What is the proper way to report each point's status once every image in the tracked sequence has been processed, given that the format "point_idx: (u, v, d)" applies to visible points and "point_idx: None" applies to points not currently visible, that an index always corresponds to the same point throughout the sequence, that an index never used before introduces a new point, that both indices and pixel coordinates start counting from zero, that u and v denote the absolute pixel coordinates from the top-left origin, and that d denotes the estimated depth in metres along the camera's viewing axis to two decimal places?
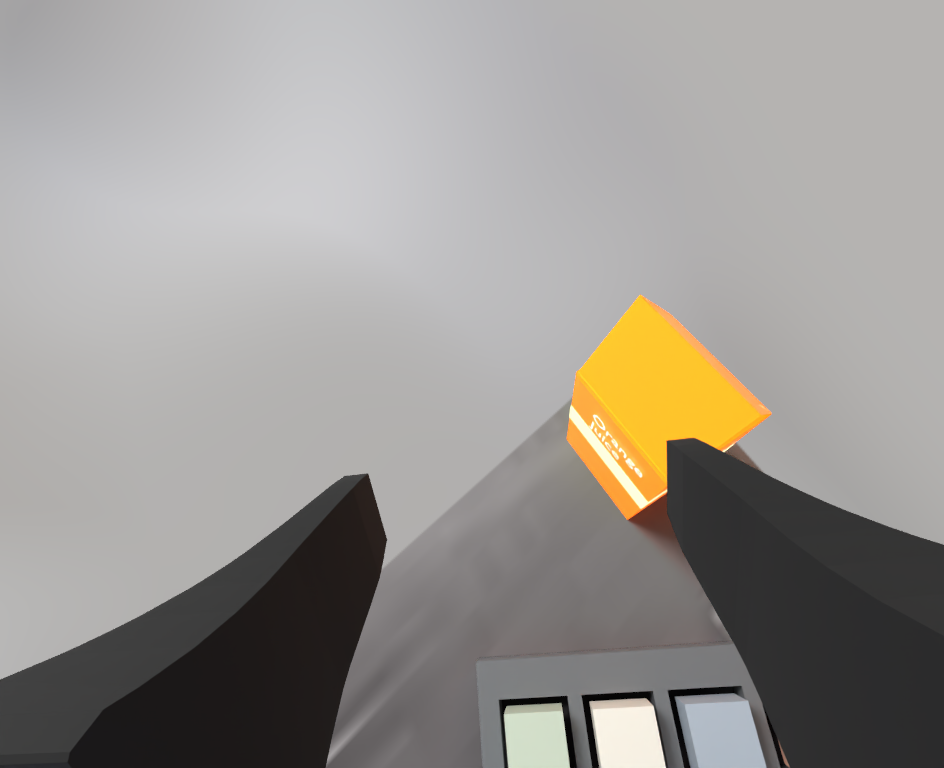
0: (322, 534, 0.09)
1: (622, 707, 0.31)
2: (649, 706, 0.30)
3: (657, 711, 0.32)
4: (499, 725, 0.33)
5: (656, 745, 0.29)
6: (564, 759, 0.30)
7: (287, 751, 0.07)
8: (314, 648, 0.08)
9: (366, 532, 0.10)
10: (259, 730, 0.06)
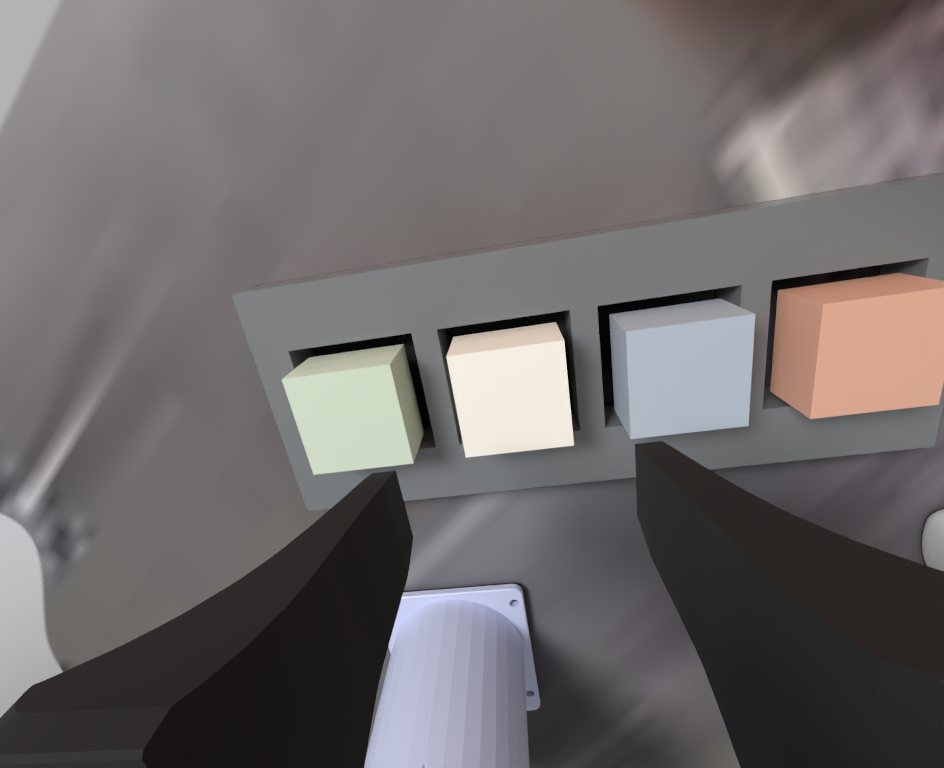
0: (358, 530, 0.09)
1: (504, 347, 0.15)
2: (556, 341, 0.15)
3: (573, 341, 0.17)
4: None
5: (560, 399, 0.16)
6: (398, 432, 0.17)
7: (331, 749, 0.07)
8: (352, 645, 0.08)
9: (395, 529, 0.10)
10: (307, 728, 0.06)
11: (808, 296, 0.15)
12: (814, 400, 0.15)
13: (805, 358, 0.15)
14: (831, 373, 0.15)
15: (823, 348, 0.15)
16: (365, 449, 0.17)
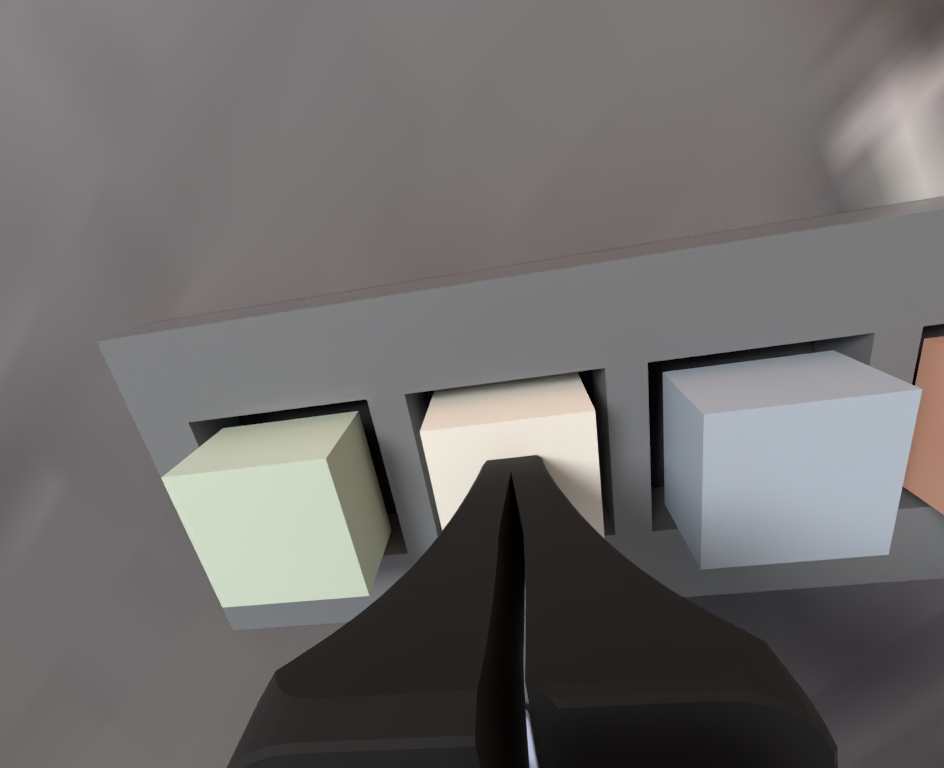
0: (505, 516, 0.08)
1: (505, 419, 0.10)
2: (583, 412, 0.10)
3: (608, 412, 0.12)
4: None
5: (588, 491, 0.11)
6: (343, 553, 0.11)
7: (519, 742, 0.06)
8: (513, 635, 0.08)
9: (518, 517, 0.10)
10: (511, 719, 0.06)
11: None
12: None
13: None
14: None
15: None
16: (296, 576, 0.11)
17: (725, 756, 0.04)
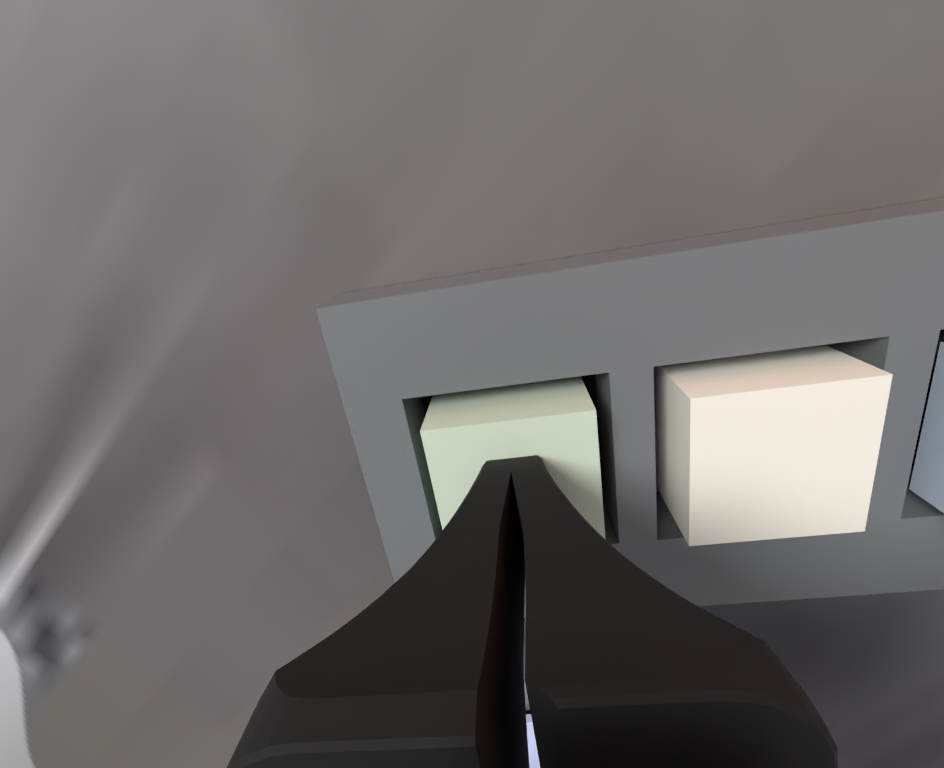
0: (506, 515, 0.08)
1: (785, 385, 0.10)
2: (877, 376, 0.09)
3: None
4: (411, 454, 0.12)
5: (862, 463, 0.10)
6: (590, 508, 0.11)
7: (519, 742, 0.06)
8: (513, 635, 0.08)
9: (518, 517, 0.10)
10: (511, 718, 0.06)
11: None
12: None
13: None
14: None
15: None
16: None
17: (725, 756, 0.04)
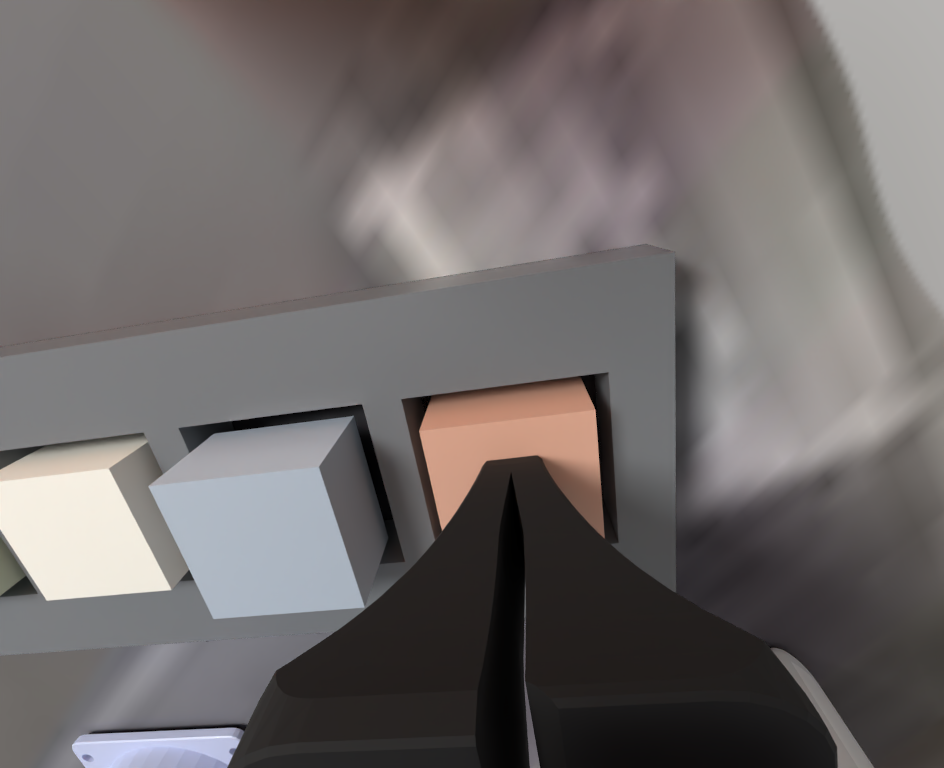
0: (505, 516, 0.08)
1: (44, 474, 0.12)
2: (101, 469, 0.11)
3: (165, 470, 0.12)
4: None
5: (133, 537, 0.12)
6: None
7: (520, 742, 0.06)
8: (514, 635, 0.08)
9: (518, 517, 0.10)
10: (512, 718, 0.06)
11: (437, 409, 0.12)
12: None
13: None
14: None
15: (438, 484, 0.11)
16: None
17: (725, 756, 0.04)
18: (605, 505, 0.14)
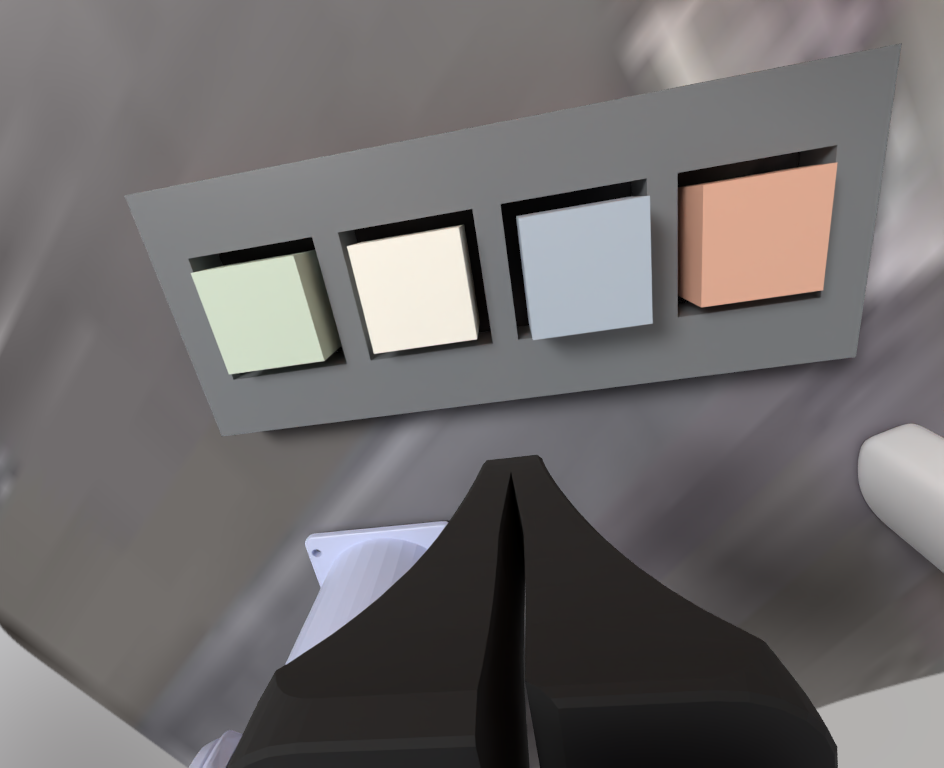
0: (505, 516, 0.08)
1: (402, 237, 0.16)
2: (451, 229, 0.16)
3: (478, 244, 0.17)
4: None
5: (460, 289, 0.16)
6: (306, 327, 0.17)
7: (520, 742, 0.06)
8: (513, 635, 0.08)
9: (518, 518, 0.10)
10: (512, 719, 0.06)
11: (697, 185, 0.16)
12: (703, 287, 0.16)
13: (695, 247, 0.16)
14: (717, 258, 0.15)
15: (707, 232, 0.15)
16: (276, 346, 0.18)
17: (725, 756, 0.04)
18: None
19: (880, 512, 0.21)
